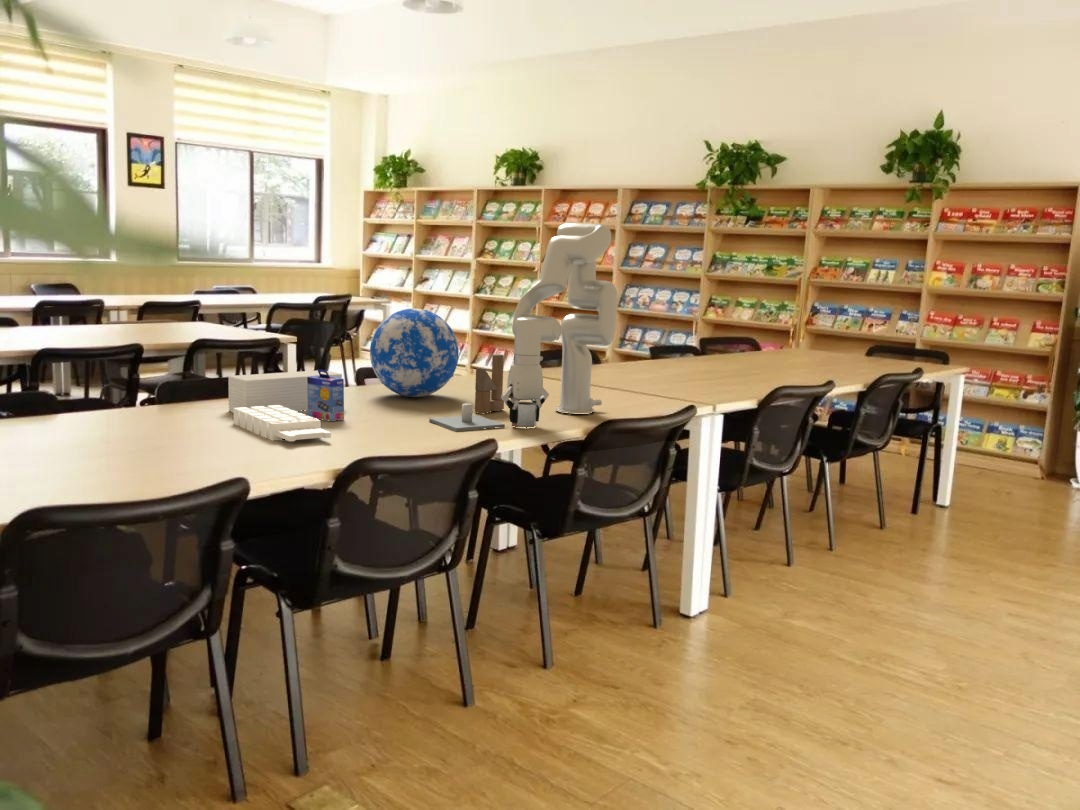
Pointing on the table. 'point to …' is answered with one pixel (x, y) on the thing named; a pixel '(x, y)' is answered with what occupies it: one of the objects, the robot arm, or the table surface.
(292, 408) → the stack of papers
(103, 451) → the table surface
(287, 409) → the organizer
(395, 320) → the decorative globe
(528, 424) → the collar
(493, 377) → the wooden block
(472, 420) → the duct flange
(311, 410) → the ink cartridge box
